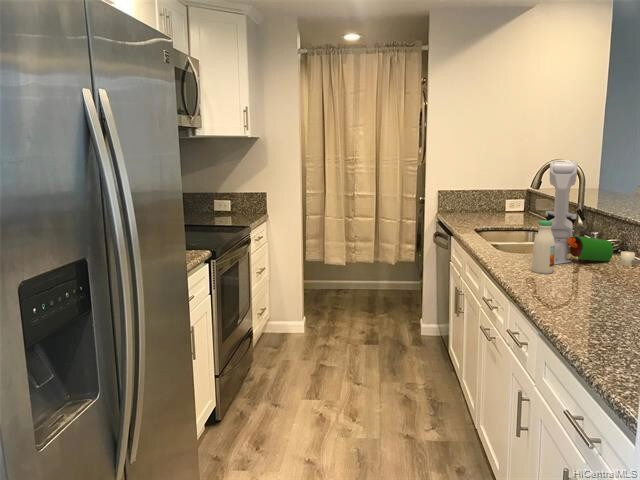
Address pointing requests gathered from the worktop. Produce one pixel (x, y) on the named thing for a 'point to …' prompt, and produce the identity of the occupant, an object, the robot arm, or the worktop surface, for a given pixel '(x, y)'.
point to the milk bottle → (544, 249)
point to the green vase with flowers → (590, 248)
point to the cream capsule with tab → (628, 258)
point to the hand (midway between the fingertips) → (559, 233)
